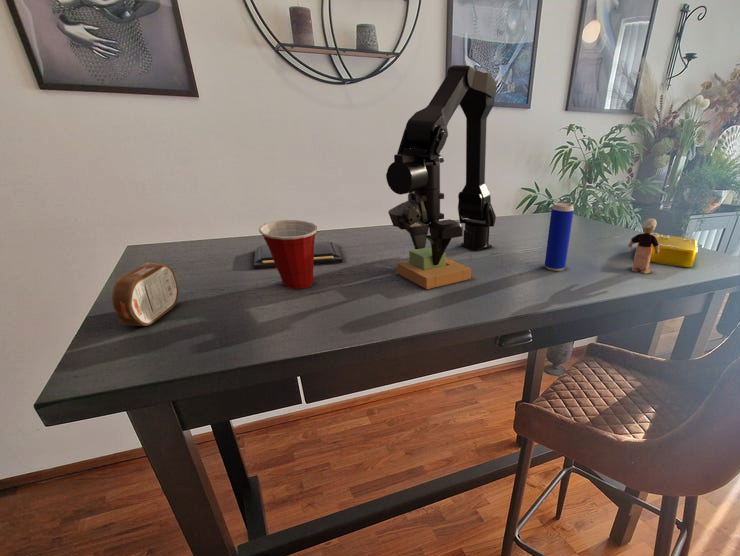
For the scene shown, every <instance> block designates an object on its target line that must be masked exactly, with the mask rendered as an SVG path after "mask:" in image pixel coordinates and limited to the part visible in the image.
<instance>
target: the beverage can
mask: <svg viewBox="0 0 740 556" xmlns="http://www.w3.org/2000/svg"><path fill="white" fill-rule="evenodd" d="M574 211H575V209H574V204H572V203H568V202H567V203H566V202H554V203H552V206H551V209H550V218H549V226H548V236H547V242H546V252H545V259H544V260H545V261H544V266H545V269H547V270H549V271H552V272H553V271H554V272H558V271H559V272H560V271H563V270H564V269H565V268H566V267H567V266H566V265H567V259H568V251H569V246H570V237H571V233H572V226H573V225H572V224H573V218H574Z"/></svg>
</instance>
